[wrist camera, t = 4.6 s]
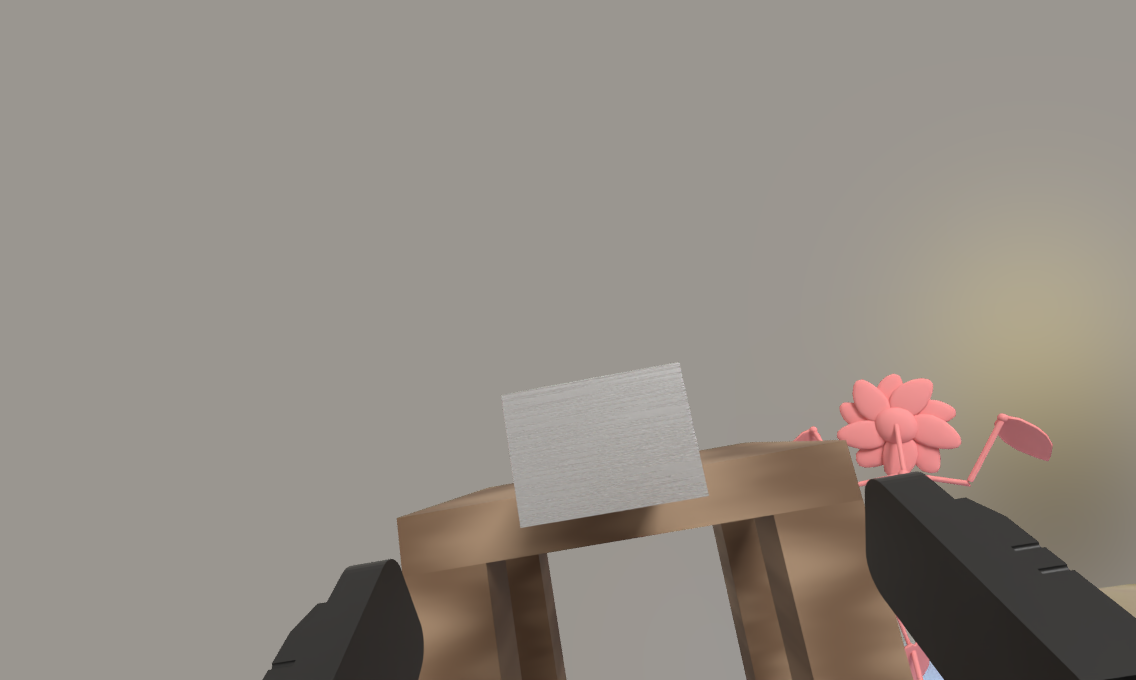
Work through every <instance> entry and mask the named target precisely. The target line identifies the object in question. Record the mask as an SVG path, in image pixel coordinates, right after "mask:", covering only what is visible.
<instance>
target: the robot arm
mask: <svg viewBox="0 0 1136 680" xmlns="http://www.w3.org/2000/svg"><path fill="white" fill-rule="evenodd" d="M865 534H866V559H867V564H868V568H869V571H870V574H871V577H872V579H873V581H874V583H875V585H876V587H877V589H878V591H879V593H880V594H881V596H882V597H883V598H884V600H885V601H886V603H887V604H888V605H889V607H890V608H891V609H892V611H893V612H894V613H895V615H896V616H897V617H898V619H899V620H900V621H901V623H902V624H903V625H904V627H905V628H906V629H907V631H908V632H909V633H910V635H911V636H912V637H913V639H914V640H915V641H916V643H917V644H918V645H919V647H920V648H921V649H922V651H923V652H924V653H925V655H926V656H927V657H928V659H929V660H930V661H931V663H932V664H933V665H934V667H935V668H936V669H937V671H938V672H939V673H940V675H941V676H942V677H943V679H944V680H1136V618H1135V617H1134V616H1132V615H1131V614H1130V613H1128V612H1127V611H1126V610H1125V609H1123V608H1122V607H1121V606H1120V605H1118V604H1117V603H1116V602H1114V601H1113V600H1112V599H1111V598H1109V597H1108V596H1107V595H1106V594H1104V593H1103V592H1102V591H1100V590H1099V589H1098V588H1097V587H1095V586H1094V585H1093V584H1092V583H1090V582H1089V581H1088V580H1086V579H1085V578H1084V577H1083V576H1081V575H1080V574H1079V573H1078V572H1076V571H1075V570H1072V571H1070V570H1069V569H1068V567H1067V564H1066V563H1065V562H1064V561H1062V560H1061V559H1060V558H1058V557H1057V556H1056V555H1055V554H1053V553H1052V552H1051V551H1049V550H1048V549H1047V548H1045V547H1044V548H1041V547H1040V545H1039V542H1038V541H1037V540H1035V539H1034V538H1033V537H1032V536H1030V535H1029V534H1028V533H1026V532H1025V531H1024V530H1023V529H1021V528H1020V527H1019V526H1018V525H1016V524H1015V523H1014V522H1013V521H1011V520H1010V519H1009V518H1007V517H1006V516H1004V515H1002V514H1000V513H998V512H995V511H993V510H991V509H989V508H987V507H985V506H982V505H980V504H978V503H976V502H974V501H972V500H970V499H967V498H960V499H954V498H953V497H951V496H950V495H949V494H948V493H947V492H945V491H944V490H943V489H942V488H941V487H939V486H938V485H937V484H936V483H935V482H934V481H932V480H931V479H930V478H929V477H928V476H926V475H925V474H923V473H921V472H910V473H904V474H899V475H893V476H887V477H881V478H875V479H870V480H868V482H867V483H866V486H865ZM423 655H424V638H423V631H422V626H421V623H420V620H419V618H418V615H417V612H416V609H415V607H414V604H413V601H412V598H411V596H410V593H409V590H408V587H407V585H406V582H405V579H404V576H403V574H402V571H401V568H400V566H399V564H398V563H397V562H396V561H395V560H393V559H390V560H383V561H377V562H371V563H365V564H360V565H354V566H349V567H348V568H346V569H345V570H344V572H343V574H342V575H341V577H340V579H339V581H338V583H337V584H336V586H335V588H334V590H333V592H332V594H331V596H330V597H329V600H328V601H327V602H326V603H320V604H317V605H316V606H315V607H314V608H313V609H312V610H311V611H310V612H309V613H308V615H306V616H305V617H304V619H302V620H301V622H300V623H299V624H298V625H297V626H296V627H295V628H294V629H293V630H292V631H291V632H290V634H289V635H288V637H287V639H286V640H285V642H284V644H283V646H282V647H281V649H280V651H279V652H278V654H277V656H276V658H275V659H274V661H273V663H272V669H271V670H268V671H267V673H266V675H265V677H264V678H263V680H418V679H419V675H420V672H421V668H422V663H423Z"/></svg>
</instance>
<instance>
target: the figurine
mask: <svg viewBox="0 0 1136 680" xmlns="http://www.w3.org/2000/svg"><path fill="white" fill-rule="evenodd" d="M932 392H933V384H932V382H931V381H930V380H928V379H923V378H920V379H914V380H910V381H908V382H906V383H904V384H903V382H902V380H901V378H900V376H899V375H896V374H891V375H888V376H887V377H885V378H884V379H883V380H882V381H880V383H879V385H878V387H875V386H874V385H872V384H871V383H869V382H867V381H865V380H863V379H862V380H858V381H856V383H855V384H854V387H853V399H854V403H843V404H842V405H840V412H841V415H842V417H843V419H844V420H845V421H846V422H847V423H848V424H849V425H847V426H845V427H843V428H841V429H840V430H839V431H838V432H837V438H838V439H839V440H846V442H847V445H848V446H851V447H854V448H858V449H860V450H859V451H858V452H857V453H856V461H857V462H858V464H859V466H862V467H865V468H866V467H877V466H881V465H884V471H885V472H886V473H887V475H888V476H893V475H899V474H904V473H910V472H911V470H912V468H913V467H914V466H915V465H916V466H918V467H919V468H920V469H921V470H922V471H924V472H928V473H935V472H938V470H939V469H940V460H941V458H940V452H939V448H940V449H953V448H957V447H959V446H960V444H961V438H960V436H959V435H958V433H957V432H956V430H955V429H954V428H953V427H951V426H950V425H949V424H948V423H947V422H948V421H949V420H951V419H952V418H953V417H955V416H956V410H955V409H954V408H953V407H952V406H950V405H948V404H946V403H943V402H941V401H936V400H930V398H931V395H932ZM997 435H999V436H1000V438H1001V439H1002V440H1003V441H1004V442H1005V443H1007V444H1008V445H1010V446H1012V447H1013V448H1015V449H1016V450H1018V451H1021V452H1023V453H1026V454H1028V455H1031V456H1033V457H1036V458H1039V459H1042V460H1046V461H1049V459H1050V457H1051V452H1052V446H1053V444H1052V442H1051V441H1050V439H1049V437H1048V435H1047V434H1046V433H1045V432H1043V431H1042V430H1041V429H1040V428H1038V427H1037V426H1035V425H1033V424H1031V423H1029V422H1027V421H1025V420H1023V419H1021V418H1016V417H1011V416H1007V415H1006V414H999V415H998V416H997V420H996V421H995V427H994V430H993V431H992V433H991V435H990V437H989V439H988V441H987V443H986V445H985V447H984V448H983V450H982V452H981V454H980V456H979V458H978V460H977V462H976V464H975V466H974V468H973V470H972V471H971V473H970V475H969V477H968V479H967V480H968V481H965V480H958V479H951V478H944V477H936V476H929V475H926V476H928V477H929V478H930V479H931V480H932V481H937V482H943V483H950V484H957V485H964V486H971V485H970V484H969V481H970V482H973V481H974V479H975V477H976V475H977V473H978V471H979V470H980V468H981V466H982V464H983V462H984V460H985V458H986V456H987V454H988V452H989V450H990V449H991V446H992V445H993V443H994V441H995V439H996V437H997ZM794 441H823V440H822V439H821V437H820V434H819V433H818V432H817V428H816V427H814V426H812V427H811V428H810V429H809V430H806V431H804V432H802V433H801V434H800V435H799V436H798V437H797V438H796V439H795V440H794ZM884 477H887V476H884ZM879 478H881V477H879ZM874 479H875V478H874ZM867 482H868V480H866V481H861V482H858V484H859V487H860V486H865V485H866V483H867ZM896 618H897V620H898V623H899V625H900V628H901V630H902V633H903V635H904V638H905V640H906V643H907V646H905V647H904V648H905V652H906V655H907V659H908V662H909V666H910V669H911V673H912V676H913V680H923V677H922V676H923V675H924V674H925V672H926V670H927V668H928V666H929V659H928V657H927V656H926V655H925V653H924V652H923V651H922V649H921V648H920V647H919V645H918V644H917V643H915V644H914V645H913V644H912V643H910V640H909V638H908V635H907V633H906V630H905V628H904V625H903V624H902V623H901V621H900V620H899V619H898V617H897V616H896Z"/></svg>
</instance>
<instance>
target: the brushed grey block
mask: <svg viewBox="0 0 1136 680" xmlns="http://www.w3.org/2000/svg"><path fill="white" fill-rule="evenodd" d="M501 398H502V405H503V411H504V418H505V425H506V432H507V439H508V446H509V453H510V459H511V466H512V473H513V480H514V487H515V494H516V501H517V508H518V514H519V521H520V528H524V527H529V526H535V525H541V524H547V523H553V522H559V521H565V520H571V519H577V518H583V517H589V516H594V515H600V514H606V513H612V512H618V511H624V510H630V509H636V508H642V507H648V506H653V505H659V504H665V503H671V502H677V501H683V500H689V499H695V498H701V497H707V496H709V494H708V489H707V485H706V480H705V476H704V471H703V467H702V462H701V458H700V453H699V449H698V444H697V440H696V435H695V431H694V426H693V422H692V417H691V413H690V408H689V404H688V399H687V395H686V390H685V386H684V381H683V377H682V372H681V367H680V363H679V362H676V363H671V364H666V365H661V366H655V367H650V368H645V369H639V370H633V371H628V372H622V373H617V374H612V375H607V376H602V377H596V378H590V379H585V380H579V381H574V382H568V383H563V384H558V385H553V386H547V387H542V388H536V389H531V390H525V391H521V392H514V393H509V394H504V395H501Z"/></svg>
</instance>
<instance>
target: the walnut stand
mask: <svg viewBox="0 0 1136 680" xmlns="http://www.w3.org/2000/svg"><path fill="white" fill-rule="evenodd" d="M699 453H700V458H701V462H702V467H703V471H704V476H705V480H706V485H707V489H708V494H709V496H707V497H701V498H695V499H689V500H683V501H677V502H671V503H665V504H659V505H653V506H648V507H642V508H636V509H630V510H624V511H618V512H612V513H606V514H600V515H594V516H589V517H583V518H577V519H571V520H565V521H559V522H553V523H547V524H541V525H535V526H529V527H524V528H520V521H519V514H518V508H517V501H516V494H515V487H514V483H512V484H506V485H501V486H495V487H489V488H486V489H483V490H480V491H477V492H474V493H471V494H468V495H465V496H462V497H459V498H456V499H453V500H450V501H447V502H444V503H441V504H438V505H435V506H432V507H429V508H426V509H423V510H420V511H417V512H414V513H411V514H408V515H405V516H402V517H399V518H397V525H398V535H399V545H400V555H401V565H402V574H403V576H404V579H405V582H406V585H407V587H408V590H409V593H410V596H411V598H412V601H413V604H414V607H415V609H416V612H417V615H418V618H419V620H420V623H421V626H422V631H423V638H424V655H423V663H422V668H421V672H420V675H419V679H418V680H566V674H565V668H564V662H563V655H562V649H561V642H560V636H559V629H558V622H557V616H556V609H555V603H554V596H553V590H552V584H551V577H550V570H549V565H548V557H547V553H549V552H554V551H561V550H567V549H573V548H579V547H585V546H590V545H596V544H602V543H608V542H614V541H620V540H626V539H632V538H638V537H644V536H650V535H656V534H661V533H668V532H674V531H680V530H686V529H692V528H698V527H704V526H710V525H713V529H714V534H715V537H716V543H717V547H718V552H719V556H720V561H721V565H722V570H723V574H724V579H725V583H726V588H727V593H728V597H729V601H730V606H731V611H732V615H733V620H734V624H735V629H736V633H737V638H738V643H739V647H740V652H741V656H742V660H743V665H744V670H745V674H746V679H747V680H913V676H912V673H911V669H910V666H909V662H908V659H907V655H906V652H905V648H904V644H903V641H902V637H901V634H900V630H899V627H898V623H897V620H896V616H895V613H894V612H893V611H892V609H891V608H890V607H889V605H888V604H887V603H886V601H885V600H884V598H883V597H882V596H881V594H880V593H879V591H878V589H877V587H876V585H875V583H874V581H873V579H872V577H871V574H870V571H869V568H868V564H867V559H866V534H865V506H864V502H863V499H862V496H861V492H860V488H859V484H858V481H857V478H856V474H855V470H854V467H853V463H852V460H851V456H850V452H849V449H848V445H847V442H846V440H829V441H791V442H790V441H789V442H750V443H740V444H735V445H730V446H724V447H718V448H712V449H707V450H701V451H699Z"/></svg>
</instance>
